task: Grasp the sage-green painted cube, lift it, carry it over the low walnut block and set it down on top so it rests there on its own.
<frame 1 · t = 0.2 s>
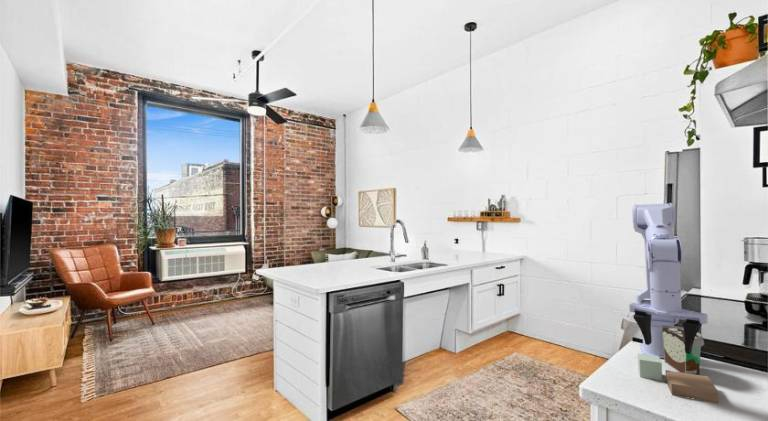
hand: (667, 347, 85), 10 cm above the worktop, tool pointing down, fingers open, 7 cm apart
walnut block: (690, 392, 84), on the worktop
food container: (688, 370, 95), on the worktop
sage cube: (649, 375, 93), on the worktop
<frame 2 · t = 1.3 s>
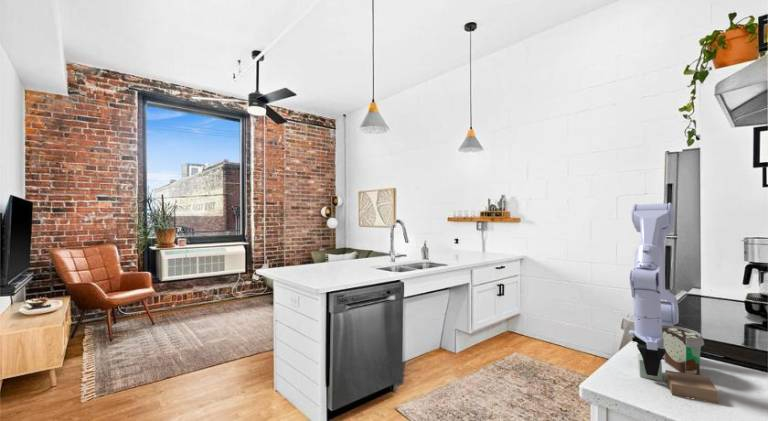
hand: (649, 369, 93), 2 cm above the worktop, tool pointing down, fingers open, 7 cm apart
nothing on the worktop moved.
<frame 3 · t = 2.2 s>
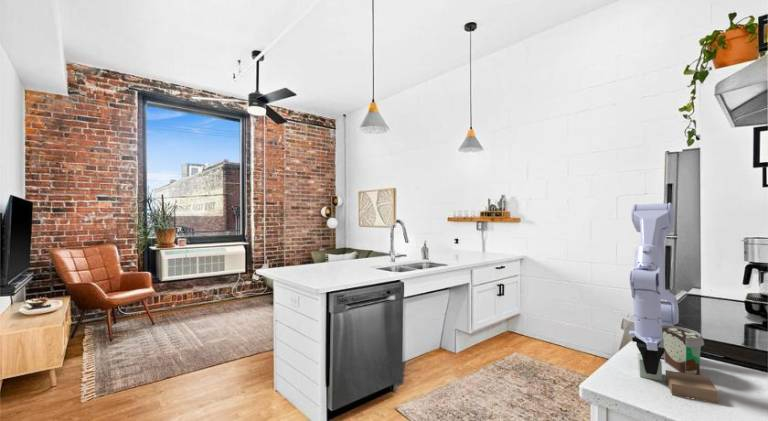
hand: (649, 369, 93), 1 cm above the worktop, tool pointing down, fingers closed on sage cube, 4 cm apart
sage cube: (649, 375, 93), on the worktop, touching gripper
everything else where it was.
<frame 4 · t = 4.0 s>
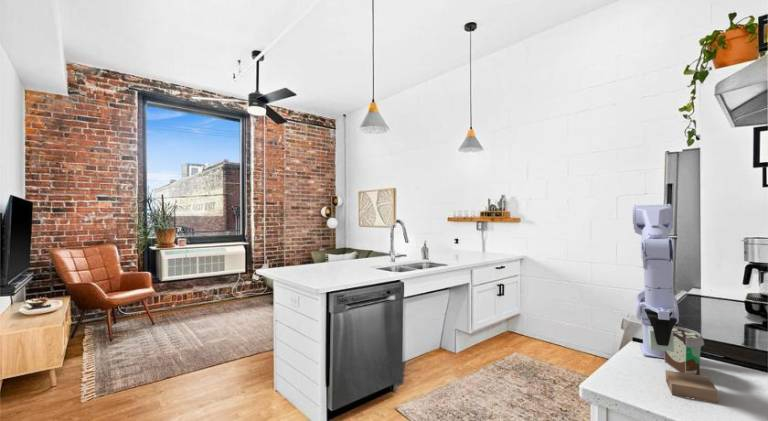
hand: (660, 341, 90), 9 cm above the worktop, tool pointing down, fingers closed on sage cube, 4 cm apart
sage cube: (661, 347, 90), point 8 cm above the worktop, touching gripper
everything else where it was.
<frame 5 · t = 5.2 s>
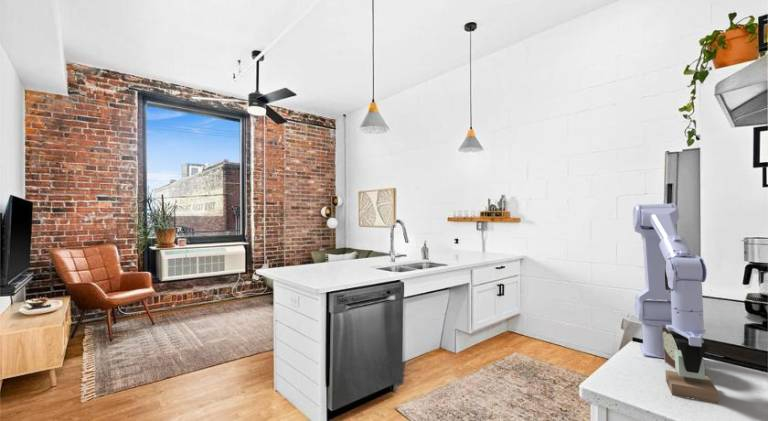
hand: (689, 367, 84), 5 cm above the worktop, tool pointing down, fingers closed on sage cube, 4 cm apart
sage cube: (689, 373, 84), point 4 cm above the worktop, touching gripper
everything else where it was.
when the fingers open (5 cm above the worktop, at t = 5.9 s): sage cube drops 1 cm, resting on walnut block.
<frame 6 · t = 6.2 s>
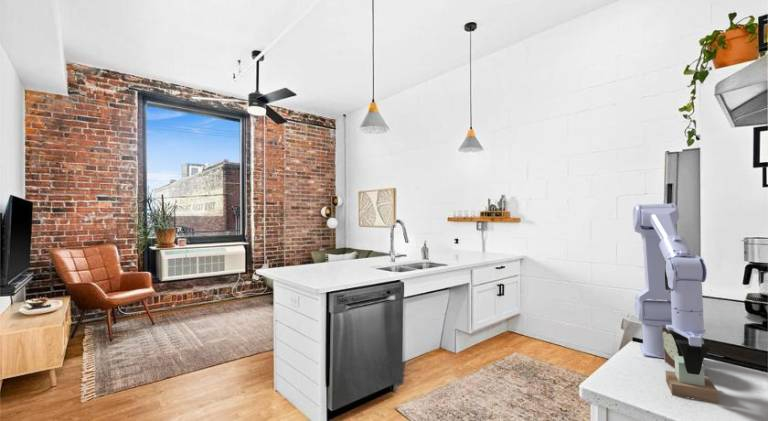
hand: (689, 367, 84), 5 cm above the worktop, tool pointing down, fingers open, 6 cm apart
walnut block: (690, 393, 84), on the worktop, touching sage cube
sage cube: (689, 380, 84), point 3 cm above the worktop, touching walnut block
everything else where it was.
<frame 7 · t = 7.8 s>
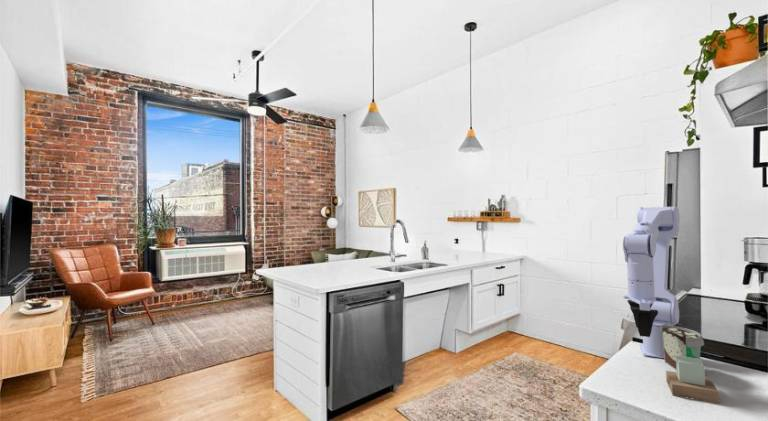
hand: (642, 331, 95), 10 cm above the worktop, tool pointing down, fingers open, 7 cm apart
walnut block: (691, 393, 84), on the worktop
sage cube: (690, 379, 84), point 3 cm above the worktop
everything else where it was.
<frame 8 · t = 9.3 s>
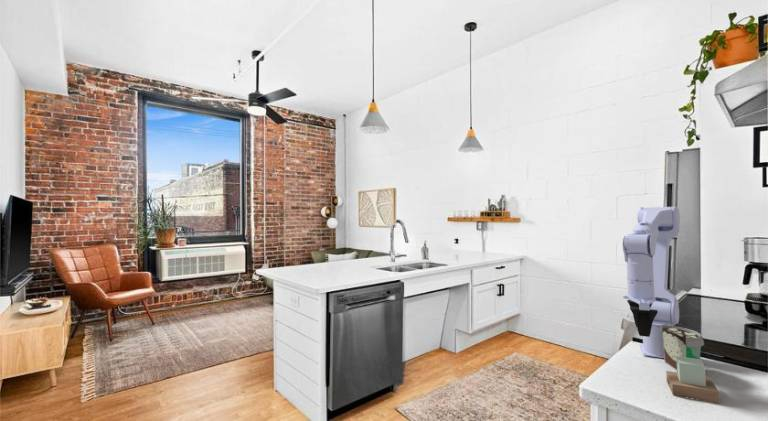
hand: (642, 331, 95), 10 cm above the worktop, tool pointing down, fingers open, 7 cm apart
walnut block: (691, 393, 84), on the worktop, touching sage cube
sage cube: (691, 380, 84), point 3 cm above the worktop, touching walnut block
everything else where it was.
at the end: sage cube 0.1 cm off-centre on the walnut block, point 3.0 cm above the walnut block's base; sage cube tilted 0°; sage cube touching walnut block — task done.
